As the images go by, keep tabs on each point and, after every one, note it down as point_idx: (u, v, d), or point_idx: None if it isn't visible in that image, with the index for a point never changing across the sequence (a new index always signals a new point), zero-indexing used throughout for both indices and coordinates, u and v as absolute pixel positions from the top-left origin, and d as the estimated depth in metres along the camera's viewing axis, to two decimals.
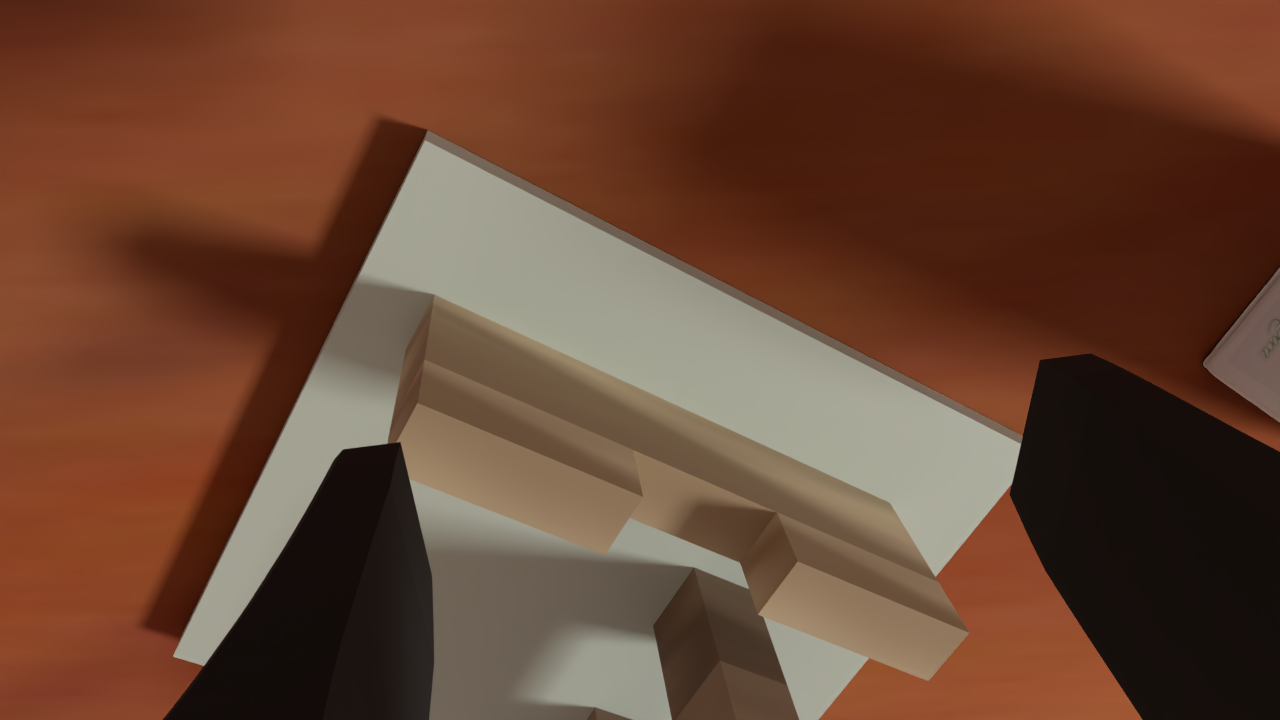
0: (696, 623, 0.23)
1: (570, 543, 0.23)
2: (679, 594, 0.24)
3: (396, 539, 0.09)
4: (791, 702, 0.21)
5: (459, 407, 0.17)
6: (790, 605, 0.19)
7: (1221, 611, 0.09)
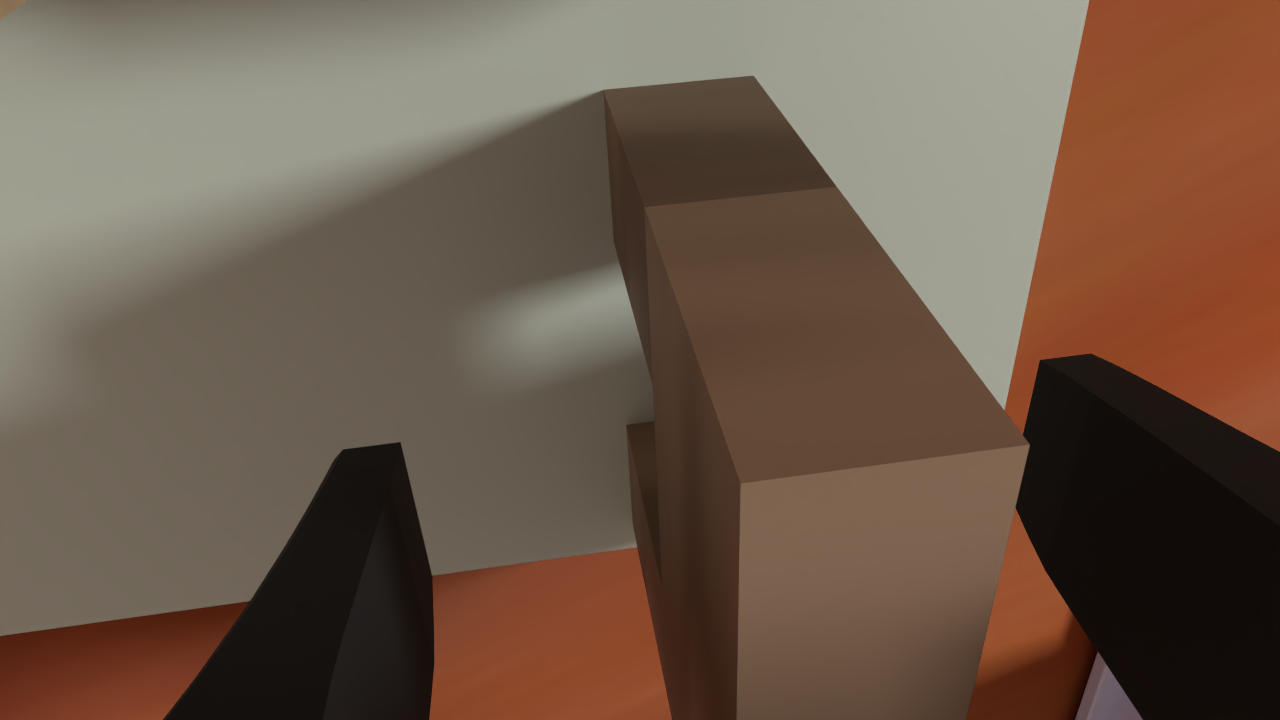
0: (623, 177, 0.10)
1: (345, 167, 0.12)
2: (609, 156, 0.12)
3: (396, 539, 0.09)
4: (849, 212, 0.09)
5: None
6: None
7: (1220, 612, 0.09)
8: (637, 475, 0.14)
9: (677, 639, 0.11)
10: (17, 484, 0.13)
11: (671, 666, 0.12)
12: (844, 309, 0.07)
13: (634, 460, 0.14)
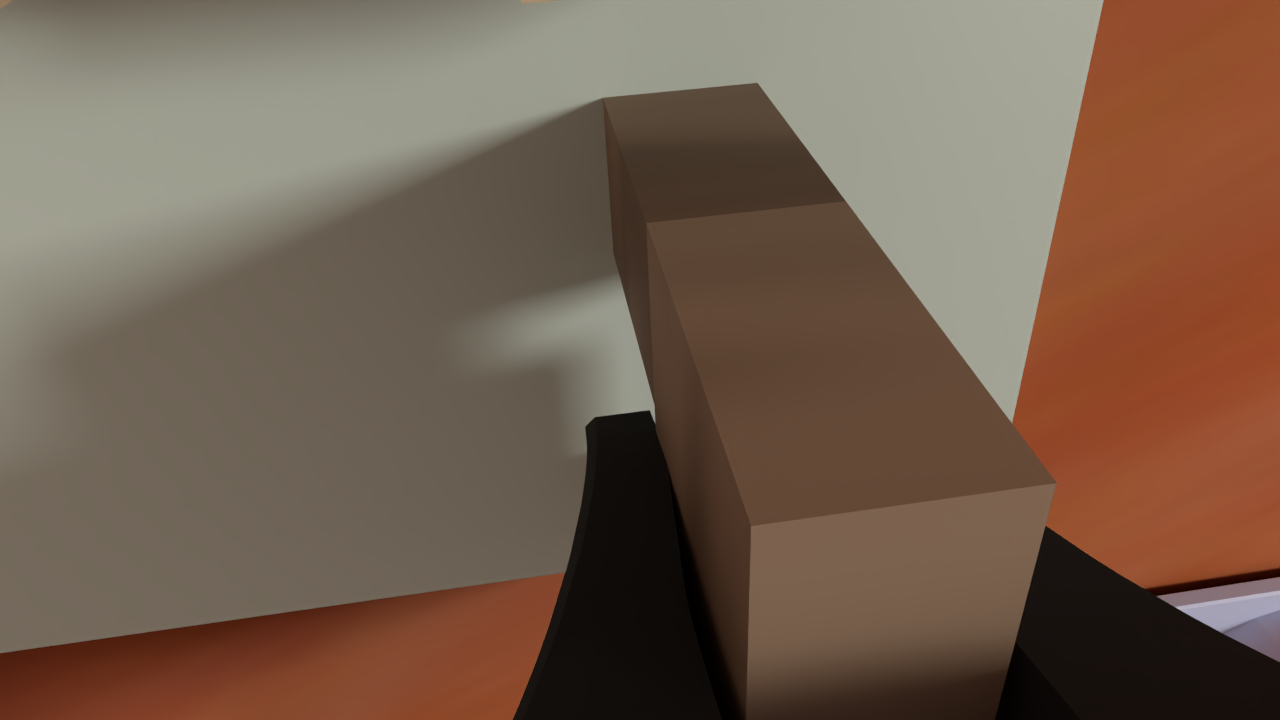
0: (623, 189, 0.10)
1: (336, 177, 0.11)
2: (609, 166, 0.12)
3: None
4: (859, 228, 0.08)
5: None
6: None
7: None
8: None
9: None
10: (1, 502, 0.13)
11: None
12: (856, 333, 0.07)
13: None
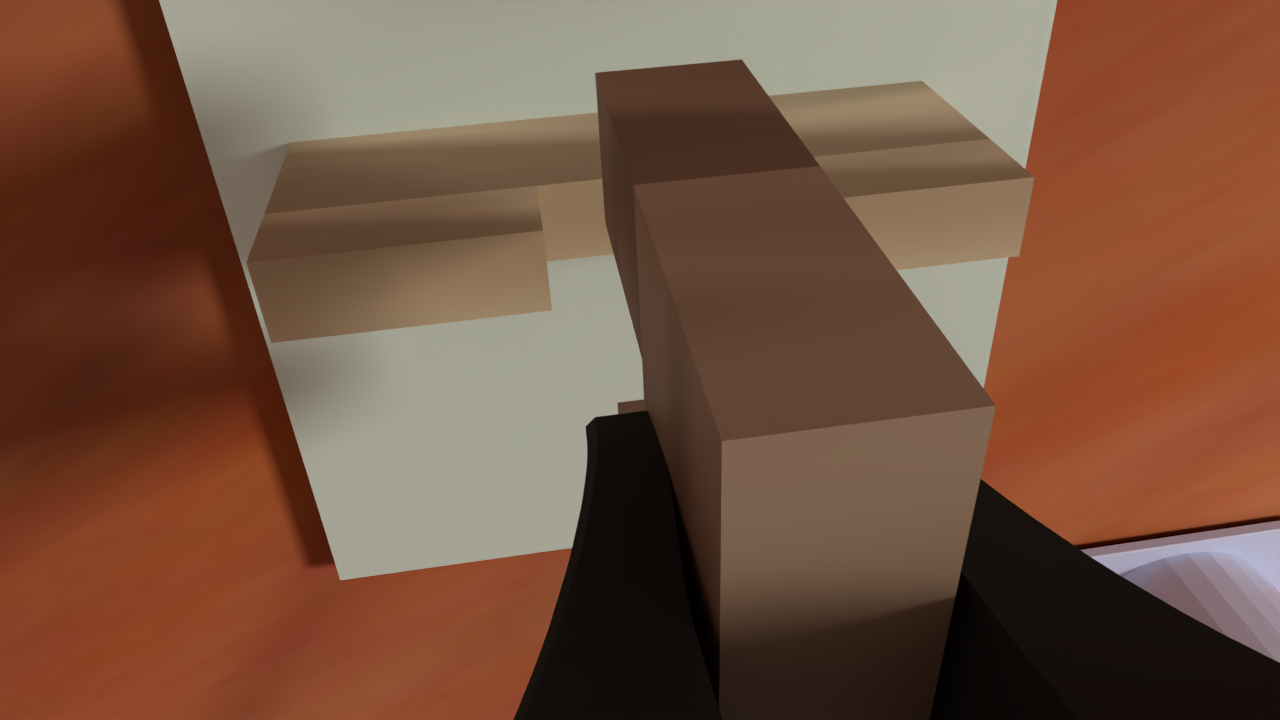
0: (614, 157, 0.11)
1: (604, 309, 0.21)
2: (600, 138, 0.12)
3: None
4: (831, 190, 0.09)
5: (301, 243, 0.15)
6: None
7: None
8: None
9: None
10: (391, 484, 0.23)
11: None
12: (824, 281, 0.08)
13: None
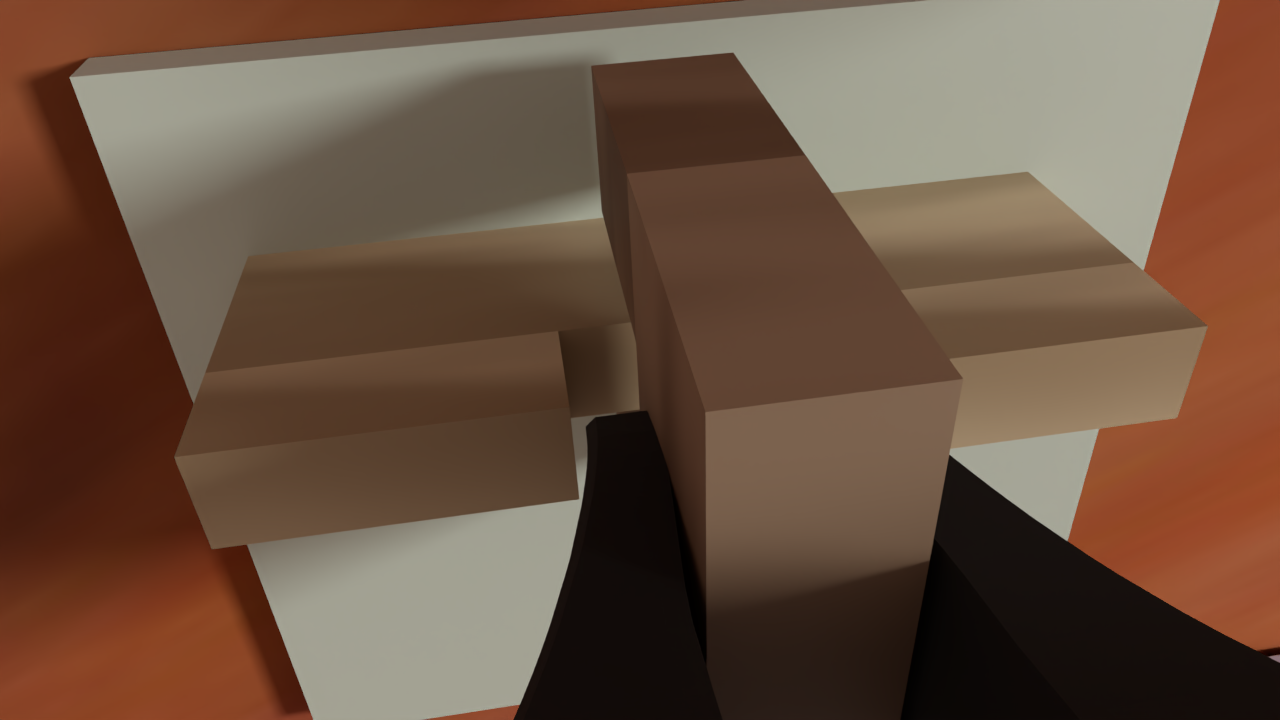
0: (609, 147, 0.11)
1: None
2: (597, 129, 0.13)
3: None
4: (815, 178, 0.09)
5: (250, 424, 0.11)
6: None
7: (933, 657, 0.08)
8: None
9: None
10: (378, 634, 0.19)
11: None
12: (806, 263, 0.08)
13: None
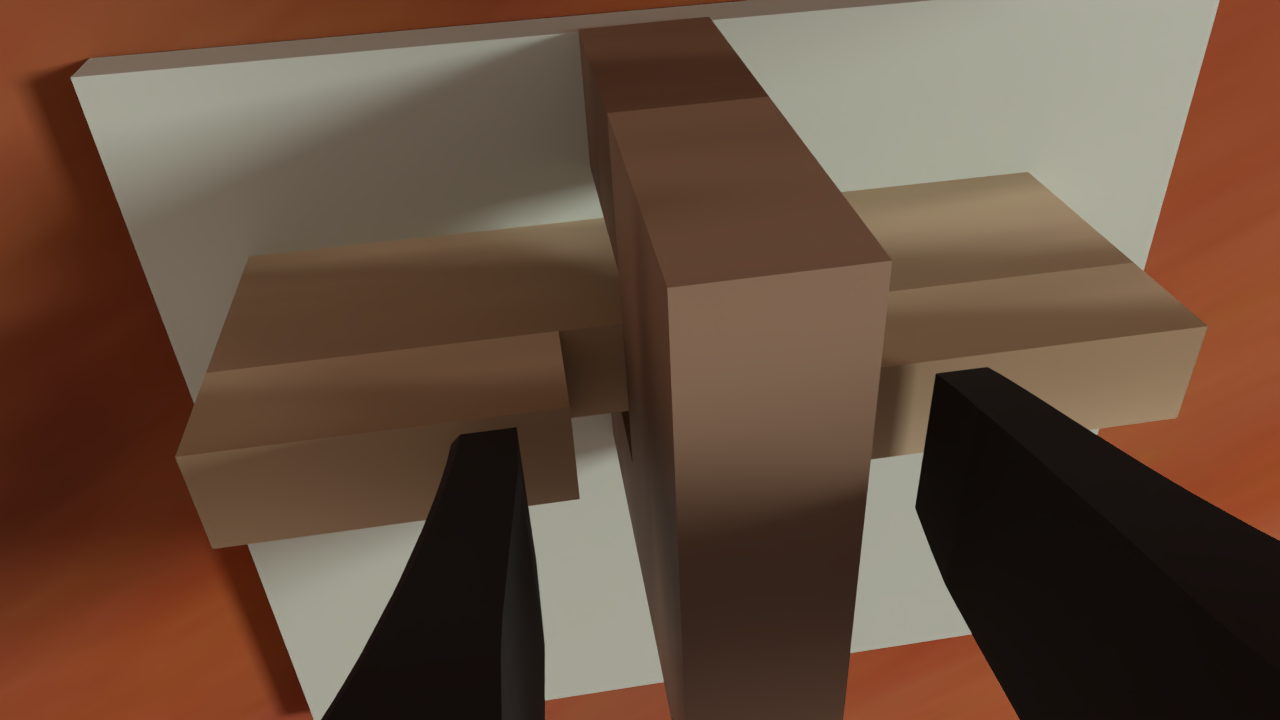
0: (593, 99, 0.12)
1: None
2: (584, 88, 0.14)
3: (523, 521, 0.10)
4: (776, 113, 0.10)
5: (251, 424, 0.11)
6: (892, 428, 0.12)
7: (1091, 631, 0.09)
8: None
9: (643, 496, 0.12)
10: None
11: (641, 531, 0.14)
12: (763, 179, 0.09)
13: None
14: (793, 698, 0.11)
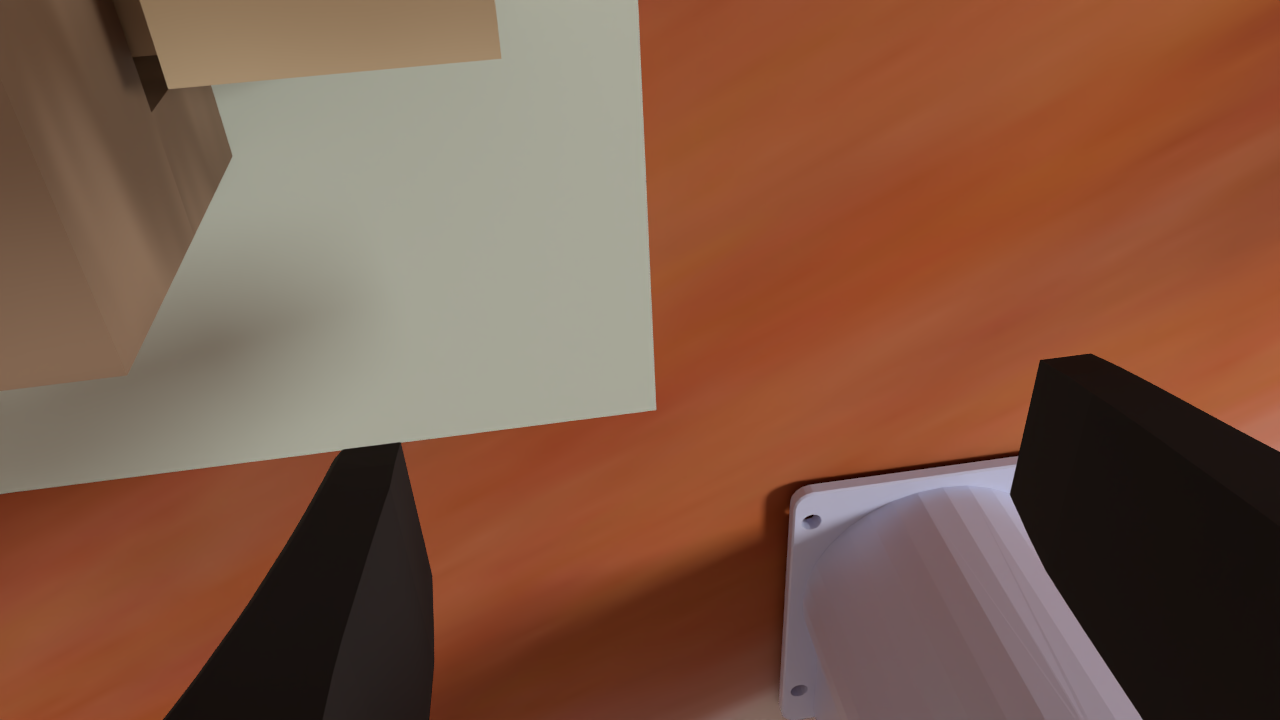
0: None
1: None
2: None
3: (396, 539, 0.09)
4: None
5: None
6: (195, 50, 0.13)
7: (1219, 610, 0.09)
8: None
9: None
10: None
11: None
12: None
13: None
14: (24, 267, 0.11)
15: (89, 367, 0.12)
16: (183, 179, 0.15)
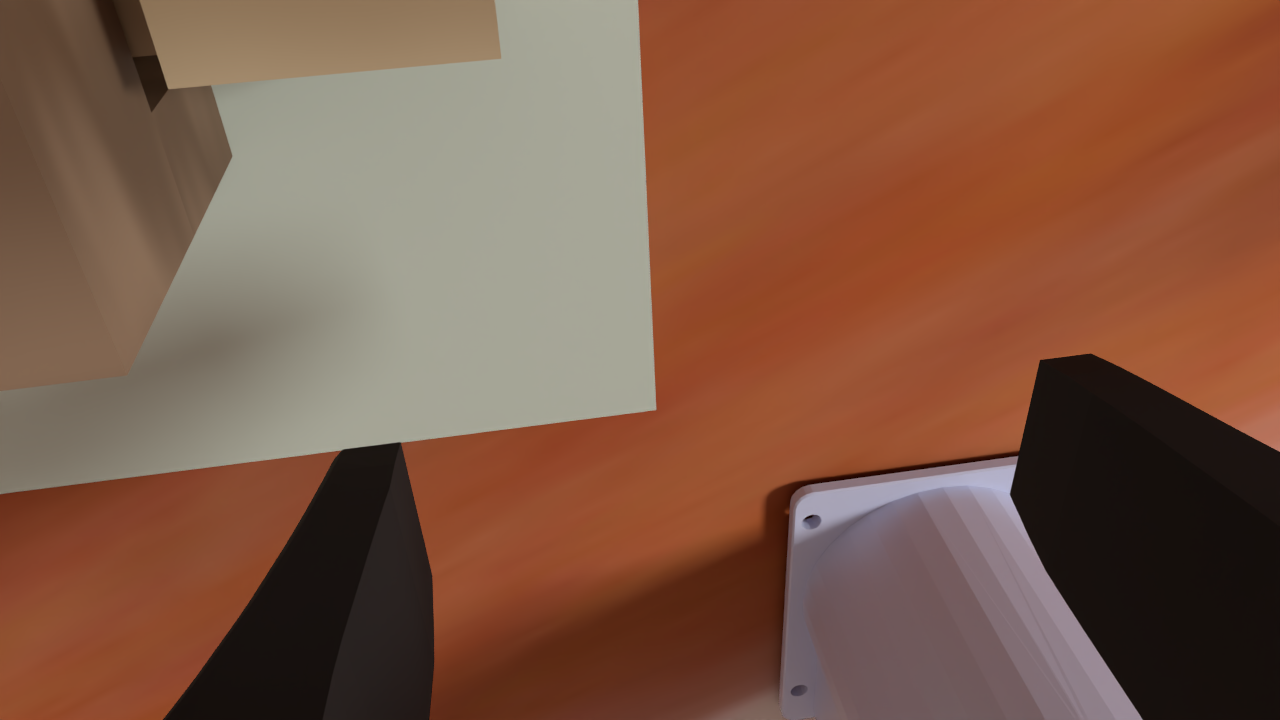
0: None
1: None
2: None
3: (396, 539, 0.09)
4: None
5: None
6: (195, 50, 0.13)
7: (1220, 612, 0.09)
8: None
9: None
10: None
11: None
12: None
13: None
14: (24, 267, 0.11)
15: (89, 367, 0.12)
16: (183, 179, 0.15)
